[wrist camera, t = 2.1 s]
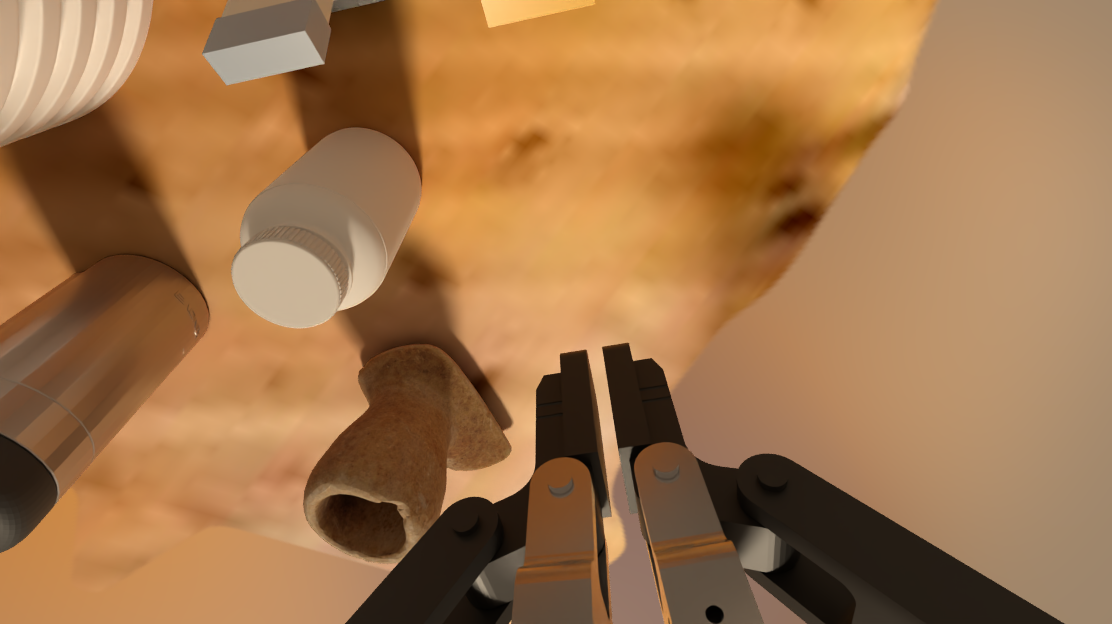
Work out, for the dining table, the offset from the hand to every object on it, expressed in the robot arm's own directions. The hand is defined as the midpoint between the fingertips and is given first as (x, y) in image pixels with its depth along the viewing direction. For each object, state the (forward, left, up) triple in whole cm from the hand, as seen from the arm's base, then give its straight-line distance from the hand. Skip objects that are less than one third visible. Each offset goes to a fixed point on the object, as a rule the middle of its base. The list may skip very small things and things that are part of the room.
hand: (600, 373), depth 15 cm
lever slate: (-13, +11, -23) cm, 28 cm away
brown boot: (-13, -26, -27) cm, 40 cm away
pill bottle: (-14, -4, -27) cm, 31 cm away
